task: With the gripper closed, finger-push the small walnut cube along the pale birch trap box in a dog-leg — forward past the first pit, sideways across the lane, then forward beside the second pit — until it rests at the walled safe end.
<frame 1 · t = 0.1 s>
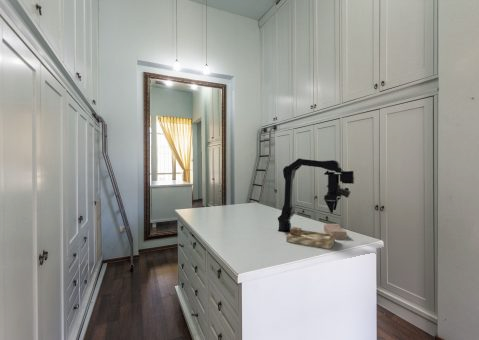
hand: (333, 211, 128), 15 cm above the countertop, fingers open, 9 cm apart
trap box: (310, 241, 123), on the countertop
brick: (334, 235, 135), on the countertop
walnut block: (295, 236, 124), point 2 cm above the countertop, touching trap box
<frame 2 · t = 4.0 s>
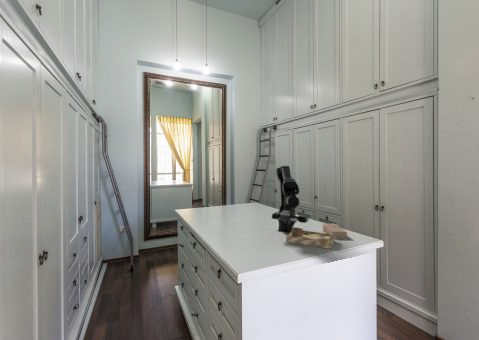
hand: (289, 233, 125), 4 cm above the countertop, fingers closed
walnut block: (297, 236, 123), point 2 cm above the countertop, touching gripper, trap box
everything else where it was.
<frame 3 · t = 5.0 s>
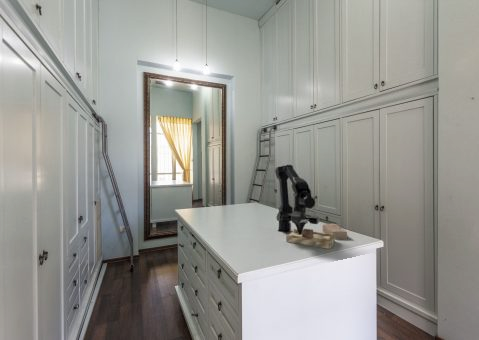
hand: (300, 234, 122), 4 cm above the countertop, fingers closed
walnut block: (307, 237, 121), point 3 cm above the countertop, touching gripper
everything else where it was.
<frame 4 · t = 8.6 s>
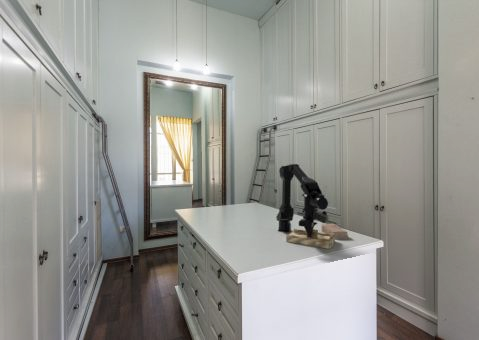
hand: (310, 237, 117), 4 cm above the countertop, fingers closed
walnut block: (312, 238, 120), point 3 cm above the countertop, touching gripper, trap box
everything else where it was.
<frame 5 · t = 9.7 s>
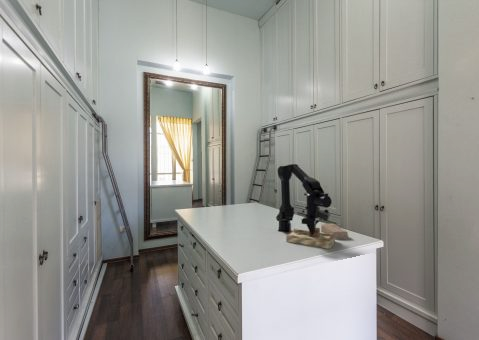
hand: (312, 234, 121), 4 cm above the countertop, fingers closed
walnut block: (314, 235, 124), point 2 cm above the countertop, touching gripper, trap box
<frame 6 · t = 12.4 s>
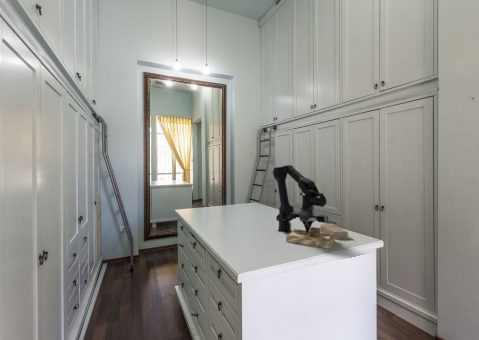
hand: (307, 232, 126), 4 cm above the countertop, fingers closed
walnut block: (315, 235, 124), point 3 cm above the countertop, touching gripper
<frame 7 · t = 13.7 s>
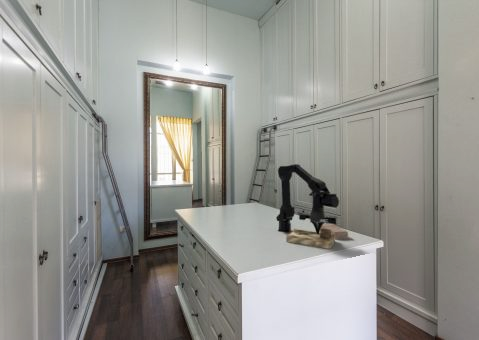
hand: (317, 234, 123), 4 cm above the countertop, fingers closed
walnut block: (325, 237, 121), point 2 cm above the countertop, touching gripper, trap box
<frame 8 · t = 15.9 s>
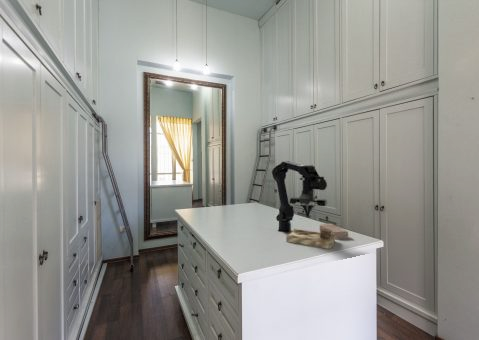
hand: (308, 217, 126), 12 cm above the countertop, fingers closed
walnut block: (325, 237, 121), point 2 cm above the countertop, touching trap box
at the end: walnut block inside the target area (0.2 cm from its centre), point 2.5 cm above the countertop; walnut block tilted 0° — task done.
